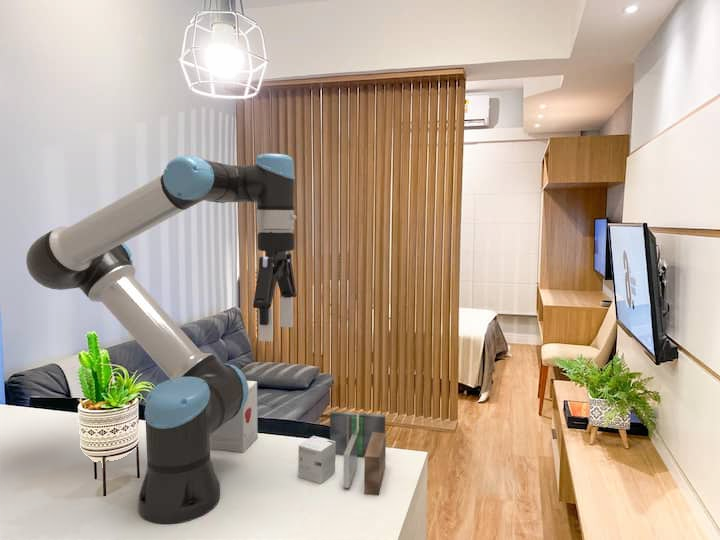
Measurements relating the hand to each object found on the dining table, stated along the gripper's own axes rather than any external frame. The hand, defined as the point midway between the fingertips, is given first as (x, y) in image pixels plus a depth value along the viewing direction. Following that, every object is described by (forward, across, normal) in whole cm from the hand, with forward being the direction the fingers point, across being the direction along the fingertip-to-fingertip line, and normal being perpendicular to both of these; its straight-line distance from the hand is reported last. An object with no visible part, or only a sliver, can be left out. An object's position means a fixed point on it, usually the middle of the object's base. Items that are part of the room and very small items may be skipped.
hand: (276, 333), depth 108 cm
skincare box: (+32, +3, -8) cm, 33 cm away
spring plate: (+31, +5, -15) cm, 35 cm away
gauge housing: (+32, +6, -15) cm, 36 cm away
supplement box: (+32, +15, +16) cm, 39 cm away
